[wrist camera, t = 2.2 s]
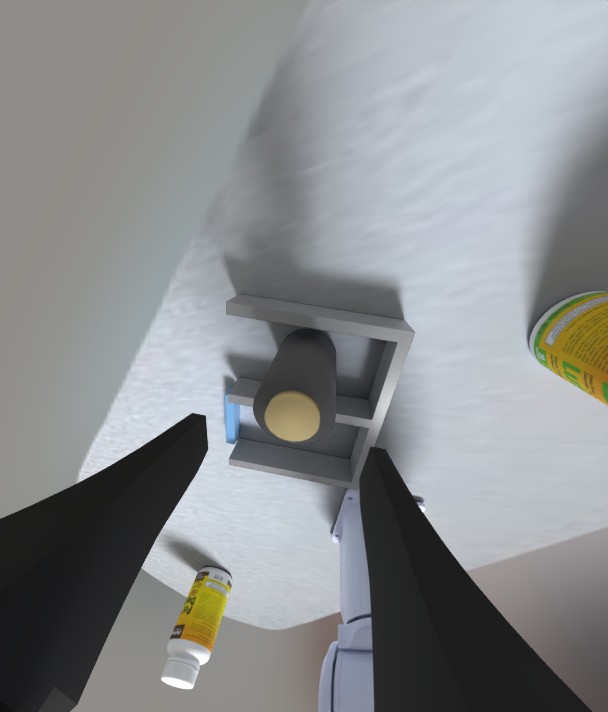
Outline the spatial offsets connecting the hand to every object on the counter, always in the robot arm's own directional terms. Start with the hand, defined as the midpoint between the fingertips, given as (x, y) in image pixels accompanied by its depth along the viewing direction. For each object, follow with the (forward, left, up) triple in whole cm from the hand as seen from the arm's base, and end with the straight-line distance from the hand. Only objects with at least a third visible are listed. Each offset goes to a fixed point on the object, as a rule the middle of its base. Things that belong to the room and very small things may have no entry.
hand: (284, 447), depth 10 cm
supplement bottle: (-40, +9, -10) cm, 42 cm away
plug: (0, 0, -9) cm, 9 cm away
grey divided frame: (-4, 0, -9) cm, 10 cm away
